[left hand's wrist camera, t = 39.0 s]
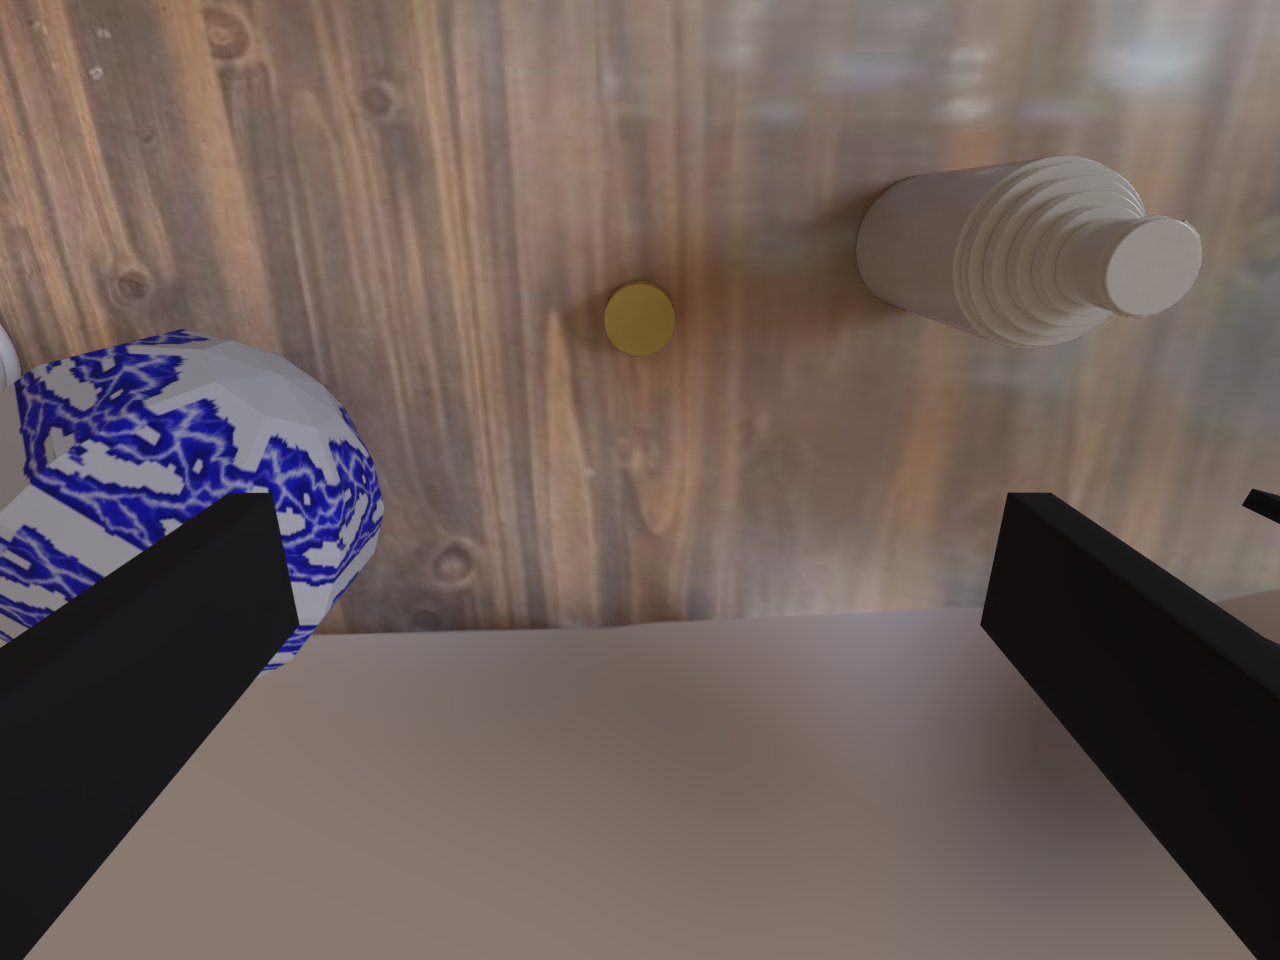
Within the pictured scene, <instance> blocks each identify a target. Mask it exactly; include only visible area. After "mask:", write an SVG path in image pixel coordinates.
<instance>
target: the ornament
mask: <svg viewBox="0 0 1280 960" xmlns="http://www.w3.org/2000/svg"><path fill="white" fill-rule="evenodd" d="M228 493H272V494H273V499H274V504H275V509H276V514H277V518H278V523H279V528H280V533H281V537H282V542H283V547H284V552H285V557H286V561H287V566H288V571H289V576H290V581H291V585H292V590H293V595H294V600H295V605H296V609H297V614H298V619H299V624H300V625H299V627H298V628H297V629H296V630H295V631H294V633H293V634H292V635H291V636H290V637H289V639H288V640H287V641H286V642H285V644H284V645H283V646H282V647H281V648H280V650H279V651H278V652H277V653H276V654H275V656H274V657H273V658H272V659H271V660H270V662H269V663H268V664H267V665H266V666H265V668H264V669H263V670H262V671H261V672H260V674H259V675H258V676H257V677H256V679H258V678H259V677H261V676H263V675H265V674H267V673H269V672H271V671H273V670H274V669H276V668H278V667H280V666H282V665H284V664H286V663H287V662H289V661H291V660H292V659H293V658H294V656H295V655H296V654H297V652H298V651H299V650H300V649H301V647H302V646H303V645H304V643H305V642H306V641H307V640H308V638H309V637H310V636H311V635H312V633H313V632H314V631H315V629H316V628H317V627H318V626H319V624H320V623H321V622H322V620H323V619H324V618H325V617H326V615H327V614H328V613H329V611H330V610H331V609H332V608H333V606H334V605H335V604H336V602H337V601H338V600H339V599H340V597H341V596H342V595H343V593H344V592H345V591H346V590H347V588H348V587H349V586H350V584H351V583H352V582H353V580H354V579H355V578H356V576H357V575H358V574H359V572H360V571H361V570H362V568H363V567H364V566H365V564H366V563H367V562H368V560H369V559H370V558H371V556H372V555H373V554H374V552H375V549H376V544H377V540H378V535H379V531H380V526H381V522H382V517H383V512H384V504H383V500H382V496H381V492H380V487H379V483H378V479H377V475H376V471H375V467H374V463H373V460H372V458H371V456H370V454H369V452H368V450H367V449H366V447H365V445H364V443H363V441H362V439H361V438H360V436H359V434H358V432H357V430H356V428H355V426H354V425H353V423H352V421H351V419H350V417H349V415H348V414H347V412H346V410H345V408H344V407H343V406H342V405H341V404H340V403H339V402H338V401H337V400H336V399H335V397H334V396H333V395H332V394H331V393H330V392H329V391H328V390H327V389H326V388H325V387H324V386H323V385H322V384H320V383H319V382H318V381H316V380H315V379H313V378H312V377H310V376H309V375H308V374H306V373H305V372H303V371H302V370H300V369H299V368H298V367H296V366H295V365H293V364H292V363H290V362H289V361H288V360H286V359H285V358H283V357H282V356H280V355H277V354H274V353H270V352H267V351H264V350H261V349H258V348H255V347H251V346H248V345H245V344H242V343H239V342H236V341H232V340H228V339H224V338H219V337H215V336H210V335H206V334H201V333H197V332H192V331H188V330H183V329H181V330H177V331H173V332H169V333H165V334H161V335H157V336H153V337H149V338H145V339H141V340H137V341H133V342H129V343H125V344H121V345H117V346H113V347H109V348H105V349H101V350H97V351H93V352H89V353H85V354H81V355H77V356H73V357H69V358H65V359H61V360H57V361H54V362H50V363H46V364H42V365H38V366H36V367H35V368H34V369H32V370H31V371H29V372H28V373H27V374H25V375H24V376H22V377H21V378H20V379H18V380H17V381H15V382H14V383H13V384H11V385H10V386H8V387H7V388H6V389H4V390H3V391H1V392H0V639H2V640H4V641H5V642H7V643H8V642H10V641H11V640H13V639H14V638H16V637H17V636H19V635H20V634H22V633H23V632H25V631H26V630H28V629H29V628H31V627H32V626H33V625H35V624H36V623H38V622H39V621H41V620H42V619H44V618H45V617H47V616H48V615H50V614H51V613H53V612H54V611H56V610H57V609H59V608H60V607H61V606H63V605H64V604H66V603H67V602H69V601H70V600H72V599H73V598H75V597H76V596H78V595H79V594H81V593H82V592H84V591H85V590H87V589H88V588H89V587H91V586H92V585H94V584H95V583H97V582H98V581H100V580H101V579H103V578H104V577H106V576H107V575H109V574H110V573H112V572H113V571H115V570H116V569H117V568H119V567H120V566H122V565H123V564H125V563H126V562H128V561H129V560H131V559H132V558H134V557H135V556H137V555H138V554H140V553H141V552H143V551H144V550H146V549H147V548H148V547H150V546H151V545H153V544H154V543H156V542H157V541H159V540H160V539H162V538H163V537H165V536H166V535H168V534H169V533H171V532H172V531H174V530H175V529H176V528H178V527H179V526H181V525H182V524H184V523H185V522H187V521H188V520H190V519H191V518H193V517H194V516H196V515H197V514H199V513H200V512H202V511H203V510H204V509H206V508H207V507H209V506H210V505H212V504H213V503H215V502H216V501H218V500H219V499H221V498H222V497H224V496H225V495H227V494H228ZM256 679H255V680H256Z"/></svg>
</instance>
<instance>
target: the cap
mask: <svg viewBox="0 0 1280 960" xmlns="http://www.w3.org/2000/svg"><path fill="white" fill-rule="evenodd" d="M674 310H675V309H674V306H673V305H672V303H671V301H670V298H669V295H667V294H666V293H665V292H664V291H663V290H662V289H661V287H660V286H657V285H655V284H654V283H651V282H650V281H649V282H648V281H641V280H640V281H639V280H637V281H631V282H628V283H627V282H626V284H624V285H622V286H621V287H619V288H616V291H615V292H614V293H613V294H612V296H611V297H609V299H608V304H607V307H606V308H605V310H604V313H605V314H604V327H605V331H606V334H607V337H608V338H609V340H610V341H611V343H612V344H613V345H614V346H615V347H616V348H617V349H618V350H620V351H621V352H623V353H625V354H628V355H631V356H637V357H642V356H648V355H652V354H654V353H656V352H658V351H659V350H661V349H662V348H663V347H664V346H665V345H666V344H667V343H668V342H669V340H670V339H671V337H672V334H673V333H674V328H675V322H676V319H675V312H674Z"/></svg>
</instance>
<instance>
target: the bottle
mask: <svg viewBox="0 0 1280 960" xmlns="http://www.w3.org/2000/svg"><path fill="white" fill-rule="evenodd" d="M1200 239H1201V238H1200V237H1199V235H1198V233H1197V232H1196V230H1195V228H1194V227H1193V226H1192V225H1191V224H1189V223H1188V222H1187V221H1186V220H1183V221H1182V222H1181V221H1179V220H1177V219H1174V218H1171V217H1169V216H1161V215H1151V216H1147V215H1146V211H1145V208H1144V205H1143V203H1142V201H1141V199H1140V197H1139V195H1138V193H1137V192H1136V190H1135V189H1134V188H1133V186H1132V185H1131V184H1130V183H1129V182H1128V181H1127V180H1126V179H1125V178H1124V177H1122V176H1121V175H1120V174H1118V173H1117V172H1115V171H1113V170H1111V169H1109V168H1108V167H1107V166H1105V165H1103V164H1101V163H1099V162H1097V161H1094V160H1091V159H1088V158H1084V157H1077V156H1054V157H1047V158H1040V159H1033V160H1026V161H1018V162H1011V163H1004V164H997V165H990V166H982V167H975V168H968V169H961V170H954V171H946V172H939V173H932V174H925V175H918V176H914V177H910V178H907V179H905V180H902V181H900V182H898V183H896V184H895V185H893V186H891V187H890V188H889V189H887V190H886V191H885V192H883V193H882V194H881V195H880V196H879V197H878V198H877V199H876V201H875V202H874V203H873V204H872V206H871V207H870V208H869V210H868V212H867V213H866V215H865V217H864V219H863V221H862V223H861V226H860V229H859V232H858V237H857V243H856V260H857V266H858V269H859V272H860V275H861V277H862V279H863V281H864V283H865V284H866V286H867V288H868V289H869V290H870V291H871V292H872V293H873V294H874V295H875V296H876V297H877V298H879V299H880V300H882V301H884V302H885V303H888V304H890V305H892V306H895V307H898V308H900V309H903V310H906V311H909V312H911V313H914V314H917V315H920V316H922V317H925V318H928V319H931V320H934V321H936V322H939V323H942V324H945V325H947V326H950V327H953V328H956V329H958V330H961V331H964V332H967V333H969V334H972V335H975V336H978V337H980V338H983V339H986V340H989V341H991V342H994V343H997V344H1000V345H1003V346H1007V347H1010V348H1018V349H1037V348H1044V347H1049V346H1052V345H1058V344H1061V343H1065V342H1069V341H1071V340H1074V339H1076V338H1079V337H1081V336H1083V335H1085V334H1087V333H1089V332H1090V331H1092V330H1093V329H1095V328H1096V327H1098V326H1099V325H1101V324H1102V323H1103V322H1105V321H1106V320H1107V319H1108V318H1109V317H1111V316H1112V315H1113V313H1116V314H1118V315H1119V316H1124V317H1129V318H1143V317H1148V316H1152V315H1156V314H1158V313H1160V312H1162V311H1164V310H1167V309H1168V308H1169V307H1171V306H1172V305H1174V304H1175V303H1177V302H1178V301H1179V300H1180V299H1181V298H1182V297H1183V296H1184V295H1185V294H1186V293H1187V292H1188V291H1189V289H1190V288H1191V286H1192V285H1193V283H1194V281H1195V280H1196V278H1197V275H1198V273H1199V270H1200V266H1201V263H1202V251H1203V249H1202V245H1201V240H1200Z"/></svg>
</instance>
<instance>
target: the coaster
mask: <svg viewBox="0 0 1280 960" xmlns="http://www.w3.org/2000/svg"><path fill="white" fill-rule="evenodd" d="M20 378H21V368H20V363H19V359H18V356H17V353H16V351H15V348H14V346H13V344H12V342H11V340H10V338H9V336H8V335H7V333H6V332H5V330H4V329H3V327H2V326H1V324H0V392H1V391H3V390H4V389H6V388H7V387H8V386H10V385H11V384H13V383H14V382H15V381H17V380H18V379H20Z"/></svg>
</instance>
